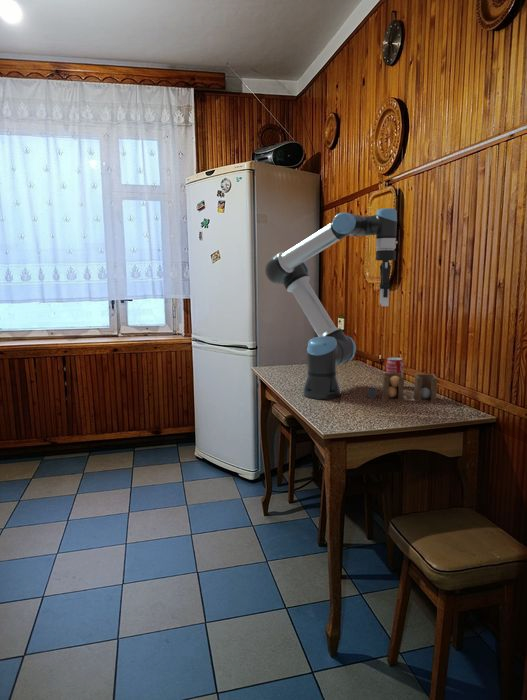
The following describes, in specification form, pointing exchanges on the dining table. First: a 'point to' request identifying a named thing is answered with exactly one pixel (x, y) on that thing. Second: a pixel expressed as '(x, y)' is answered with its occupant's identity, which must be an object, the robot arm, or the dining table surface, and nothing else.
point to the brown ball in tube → (392, 392)
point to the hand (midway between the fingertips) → (384, 305)
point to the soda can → (394, 365)
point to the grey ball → (425, 393)
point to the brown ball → (394, 381)
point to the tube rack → (420, 382)
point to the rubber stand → (371, 392)
